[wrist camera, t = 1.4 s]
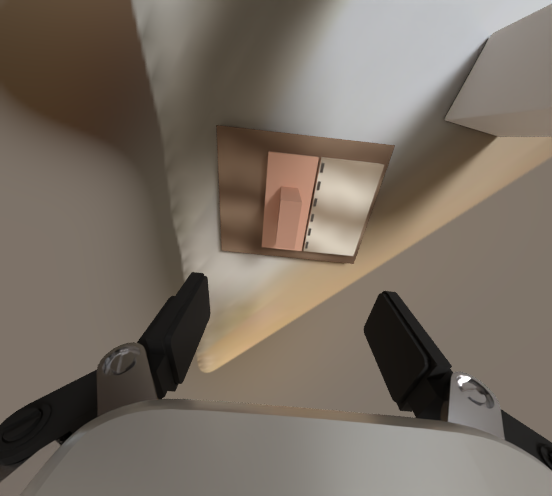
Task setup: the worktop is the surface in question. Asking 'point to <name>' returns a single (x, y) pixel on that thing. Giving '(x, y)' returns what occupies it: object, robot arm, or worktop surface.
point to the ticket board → (325, 197)
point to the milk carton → (511, 82)
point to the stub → (287, 199)
